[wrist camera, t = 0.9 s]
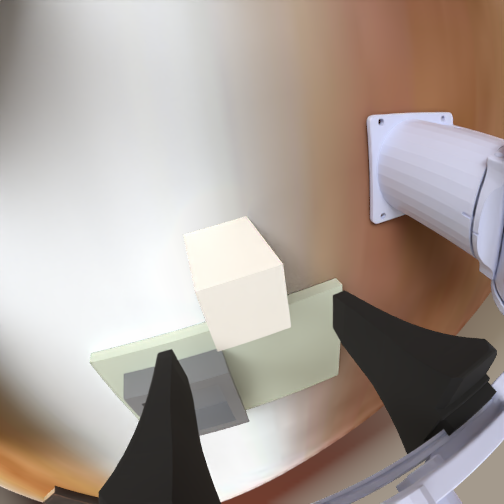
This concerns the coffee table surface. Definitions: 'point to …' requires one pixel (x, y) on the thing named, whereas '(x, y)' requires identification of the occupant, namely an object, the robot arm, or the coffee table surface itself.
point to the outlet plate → (234, 362)
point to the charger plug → (237, 282)
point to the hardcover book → (68, 497)
